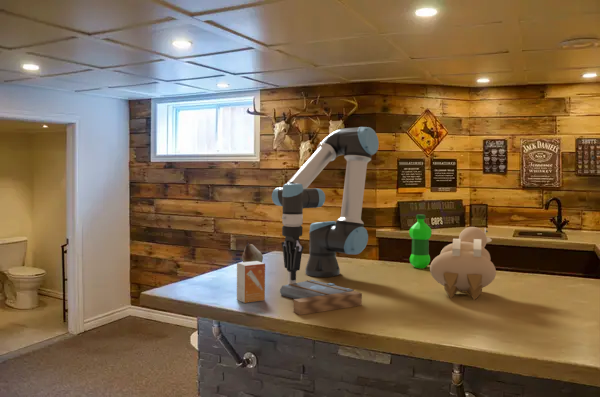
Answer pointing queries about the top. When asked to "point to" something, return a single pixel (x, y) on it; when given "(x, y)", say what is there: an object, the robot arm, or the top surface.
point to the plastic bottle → (420, 243)
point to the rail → (327, 302)
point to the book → (311, 289)
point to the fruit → (251, 254)
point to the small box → (250, 281)
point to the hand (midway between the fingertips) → (291, 288)
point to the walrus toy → (465, 264)
